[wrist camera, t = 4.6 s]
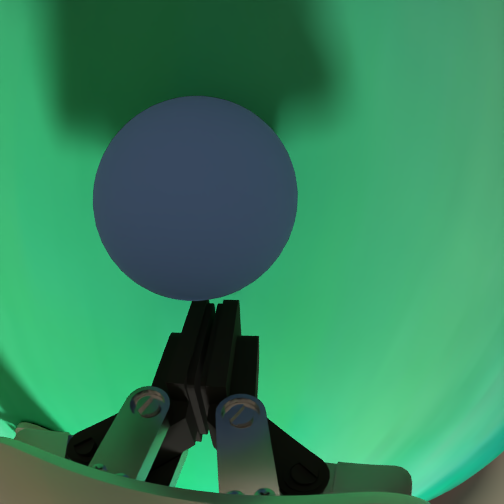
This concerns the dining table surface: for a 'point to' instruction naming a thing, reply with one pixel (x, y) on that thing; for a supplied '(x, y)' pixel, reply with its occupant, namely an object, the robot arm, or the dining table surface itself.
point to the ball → (195, 198)
